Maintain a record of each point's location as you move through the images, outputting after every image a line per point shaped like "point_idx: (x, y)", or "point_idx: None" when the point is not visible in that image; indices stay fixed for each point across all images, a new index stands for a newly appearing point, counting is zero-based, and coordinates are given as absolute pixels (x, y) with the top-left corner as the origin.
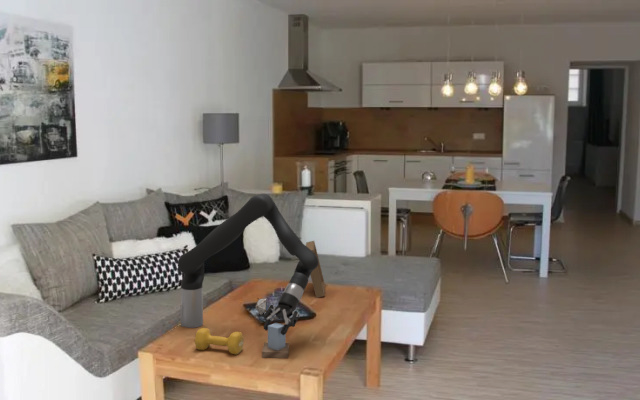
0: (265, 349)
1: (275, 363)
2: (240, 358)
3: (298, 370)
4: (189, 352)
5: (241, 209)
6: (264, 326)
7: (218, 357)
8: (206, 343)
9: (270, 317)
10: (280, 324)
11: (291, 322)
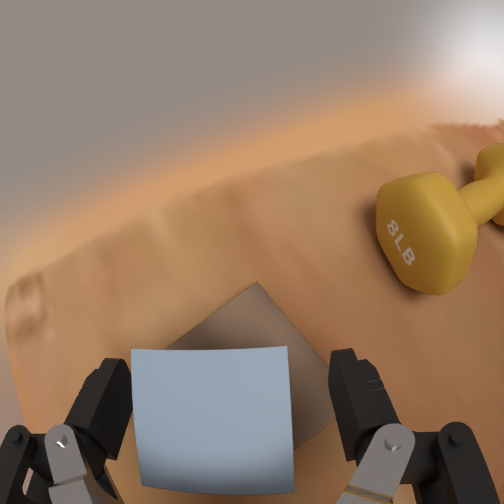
0: (267, 323)
1: (155, 279)
2: (330, 216)
3: (51, 283)
4: (472, 157)
5: None
6: (351, 357)
7: (395, 173)
8: (482, 177)
9: (364, 468)
10: (200, 477)
11: (10, 435)
